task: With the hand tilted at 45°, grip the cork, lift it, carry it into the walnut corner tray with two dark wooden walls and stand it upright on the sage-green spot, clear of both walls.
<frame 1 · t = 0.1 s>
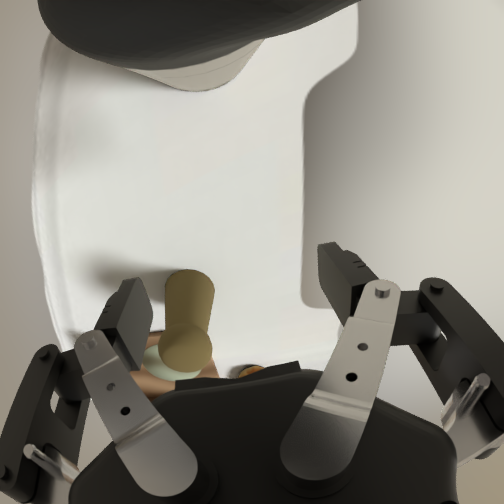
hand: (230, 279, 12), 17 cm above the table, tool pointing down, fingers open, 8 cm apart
pastry: (257, 380, 45), on the table
corner tray: (164, 368, 40), on the table
cork: (189, 289, 34), on the table
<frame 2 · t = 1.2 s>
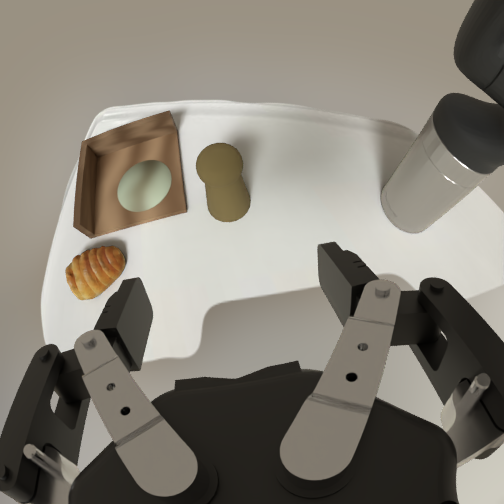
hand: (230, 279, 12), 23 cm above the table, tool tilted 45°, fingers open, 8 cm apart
pastry: (97, 273, 38), on the table
corner tray: (133, 180, 41), on the table
cork: (228, 202, 40), on the table
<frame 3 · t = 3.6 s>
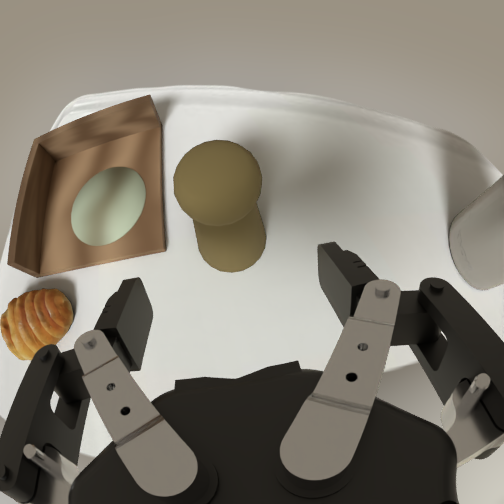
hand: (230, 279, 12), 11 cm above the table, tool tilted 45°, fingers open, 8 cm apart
pastry: (42, 323, 23), on the table
corner tray: (95, 195, 27), on the table
cork: (231, 239, 25), on the table
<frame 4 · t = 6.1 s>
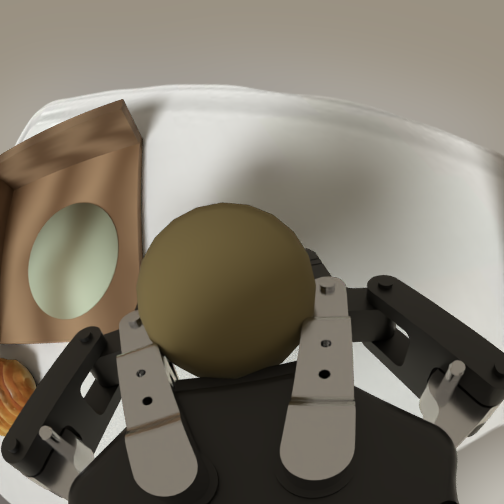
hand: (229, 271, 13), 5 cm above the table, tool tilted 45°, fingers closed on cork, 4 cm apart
pastry: (9, 393, 15), on the table
corner tray: (56, 242, 19), on the table
cork: (243, 320, 17), on the table, touching gripper
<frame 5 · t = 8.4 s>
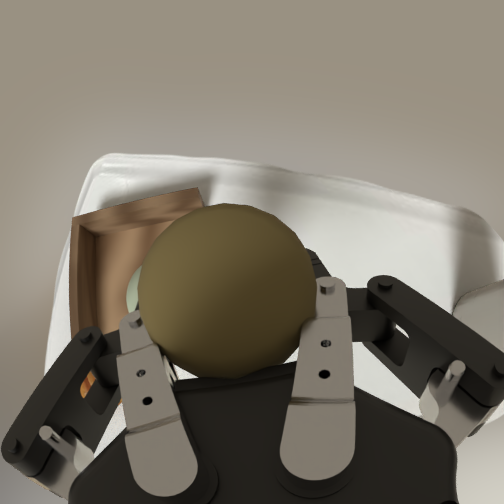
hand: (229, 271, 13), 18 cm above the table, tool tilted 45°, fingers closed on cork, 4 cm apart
corner tray: (147, 282, 32), on the table
cork: (242, 321, 17), point 13 cm above the table, touching gripper
when the fingers open (7 cm above the table, at t = 10.9 s): cork drops 1 cm, resting on corner tray.
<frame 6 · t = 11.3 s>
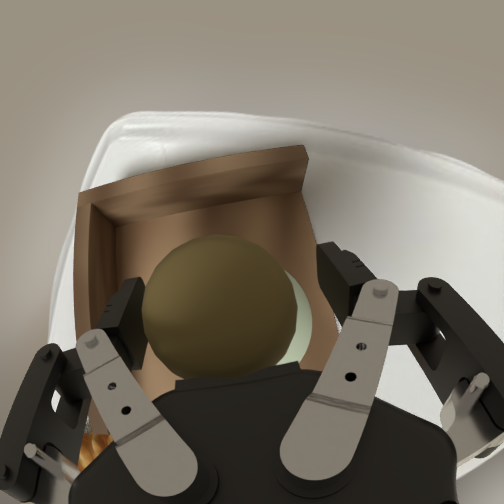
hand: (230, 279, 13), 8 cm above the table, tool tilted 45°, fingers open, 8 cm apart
pastry: (130, 455, 16), on the table
corner tray: (211, 300, 20), on the table
cork: (239, 329, 18), point 1 cm above the table, touching corner tray
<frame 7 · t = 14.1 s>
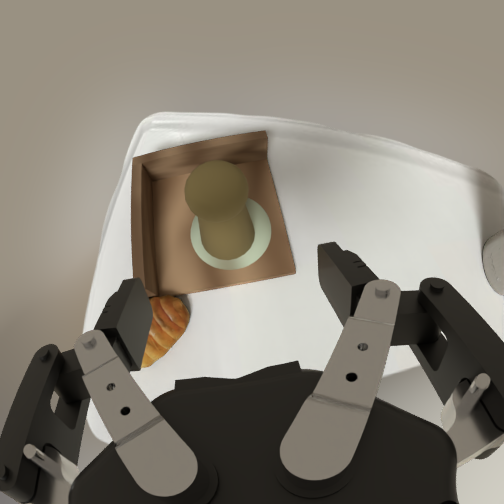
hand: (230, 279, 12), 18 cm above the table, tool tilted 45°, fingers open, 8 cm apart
pastry: (148, 331, 30), on the table
corner tray: (211, 220, 33), on the table
cork: (227, 234, 32), point 1 cm above the table, touching corner tray
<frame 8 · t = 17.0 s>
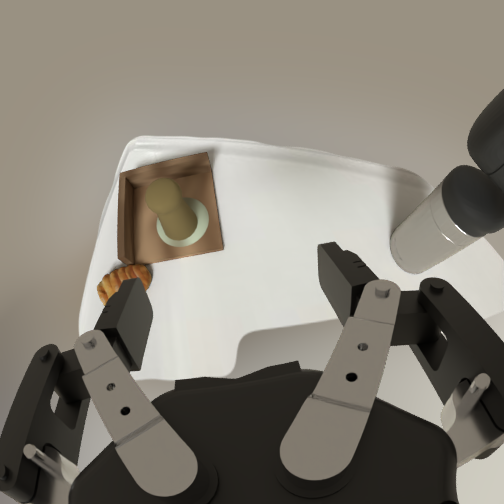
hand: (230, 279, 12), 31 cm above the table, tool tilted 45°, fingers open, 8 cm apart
pastry: (125, 289, 44), on the table
corner tray: (171, 215, 48), on the table
cork: (180, 224, 46), point 1 cm above the table, touching corner tray
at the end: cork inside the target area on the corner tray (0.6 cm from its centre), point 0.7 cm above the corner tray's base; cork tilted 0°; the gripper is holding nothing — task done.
